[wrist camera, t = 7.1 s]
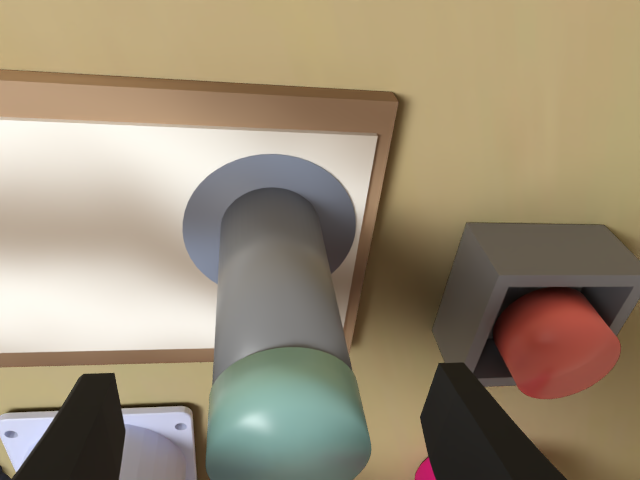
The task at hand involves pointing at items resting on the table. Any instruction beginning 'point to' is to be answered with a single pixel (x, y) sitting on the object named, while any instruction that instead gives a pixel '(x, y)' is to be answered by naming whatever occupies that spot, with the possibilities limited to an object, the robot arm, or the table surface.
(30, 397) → the table surface
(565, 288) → the button
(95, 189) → the clipboard
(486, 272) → the button box
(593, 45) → the table surface
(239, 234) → the marker
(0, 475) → the dark slate chunk
